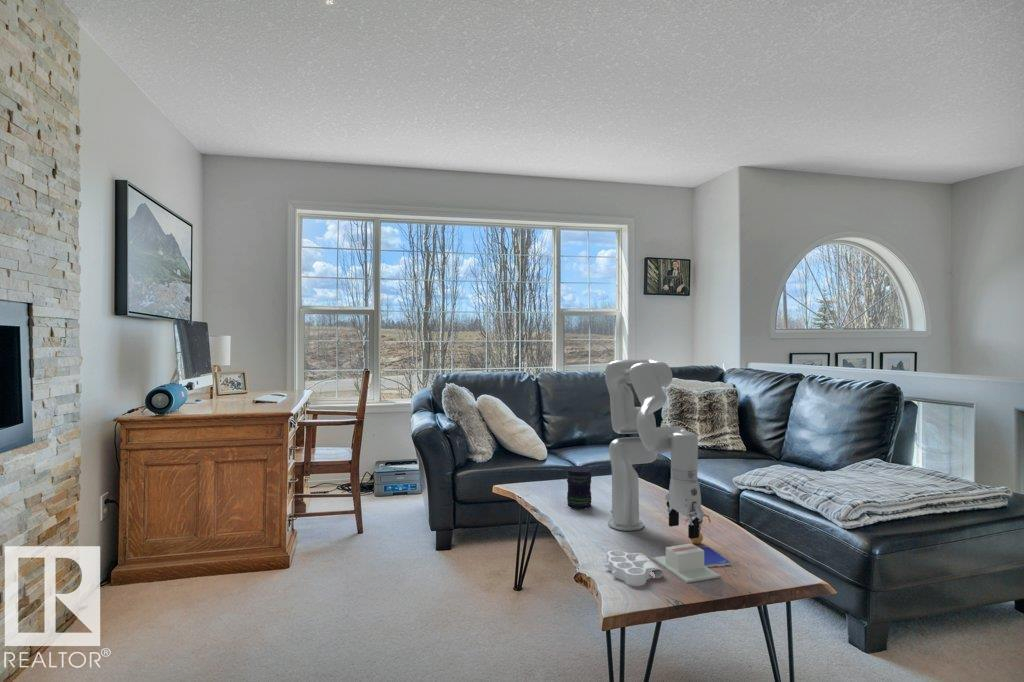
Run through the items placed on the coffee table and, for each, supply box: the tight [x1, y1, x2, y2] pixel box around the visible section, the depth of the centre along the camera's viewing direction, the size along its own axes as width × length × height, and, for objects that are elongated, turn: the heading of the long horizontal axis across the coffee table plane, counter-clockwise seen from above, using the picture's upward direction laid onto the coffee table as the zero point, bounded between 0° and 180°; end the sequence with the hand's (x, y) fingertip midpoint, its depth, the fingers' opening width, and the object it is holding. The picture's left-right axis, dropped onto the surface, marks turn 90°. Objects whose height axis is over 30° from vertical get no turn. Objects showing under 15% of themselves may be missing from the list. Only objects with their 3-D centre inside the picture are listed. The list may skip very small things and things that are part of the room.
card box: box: [665, 542, 704, 572], centre depth 159 cm, size 9×6×5 cm, turn 110°
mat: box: [652, 555, 721, 584], centre depth 159 cm, size 17×11×1 cm, turn 17°
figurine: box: [685, 513, 712, 545], centre depth 178 cm, size 8×6×12 cm
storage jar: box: [566, 465, 592, 510], centre depth 221 cm, size 10×10×15 cm
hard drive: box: [699, 546, 732, 568], centre depth 166 cm, size 2×8×12 cm
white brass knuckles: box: [603, 549, 664, 587], centre depth 157 cm, size 3×18×15 cm
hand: (683, 531), depth 160 cm, fingers open, 9 cm apart
